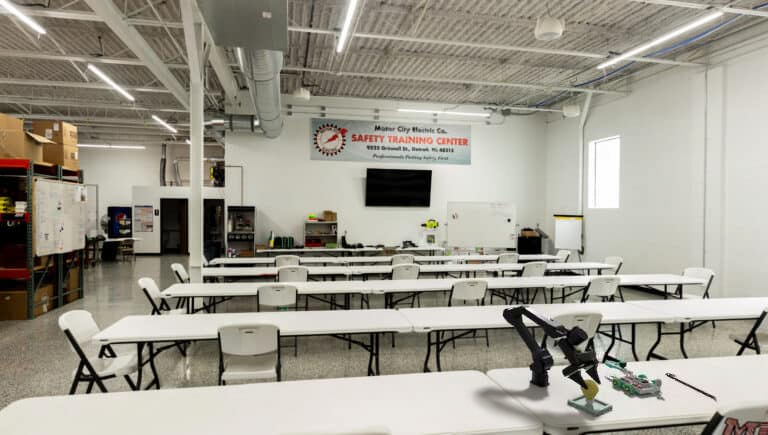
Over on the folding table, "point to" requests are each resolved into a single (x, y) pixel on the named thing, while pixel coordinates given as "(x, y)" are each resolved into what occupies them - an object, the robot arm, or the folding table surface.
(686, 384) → the crowbar
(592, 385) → the light bulb
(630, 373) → the robot kit
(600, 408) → the tray
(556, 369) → the folding table surface
